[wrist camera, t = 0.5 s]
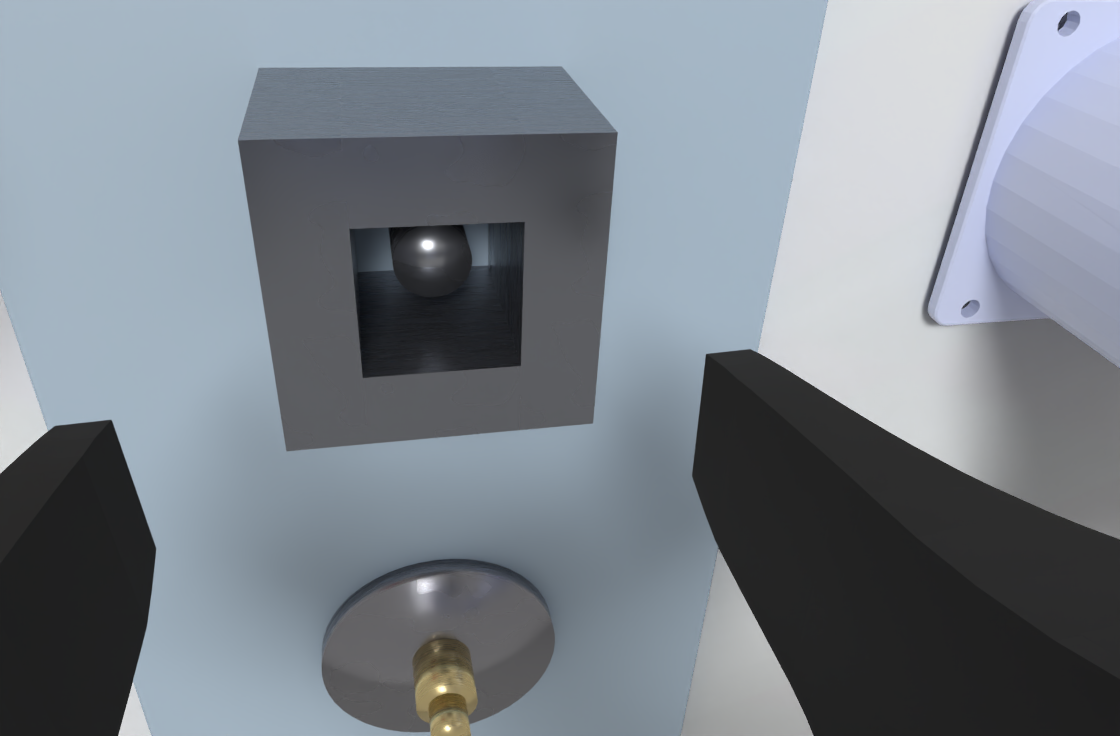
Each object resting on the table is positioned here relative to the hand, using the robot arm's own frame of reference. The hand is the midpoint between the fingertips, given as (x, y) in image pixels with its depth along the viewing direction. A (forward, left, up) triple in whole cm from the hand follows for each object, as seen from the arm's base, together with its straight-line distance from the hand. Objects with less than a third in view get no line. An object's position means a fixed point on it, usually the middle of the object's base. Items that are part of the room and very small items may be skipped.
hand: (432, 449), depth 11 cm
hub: (0, +13, -8) cm, 15 cm away
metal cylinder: (0, 0, -8) cm, 8 cm away
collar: (0, 0, -8) cm, 8 cm away
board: (0, +8, -9) cm, 12 cm away
